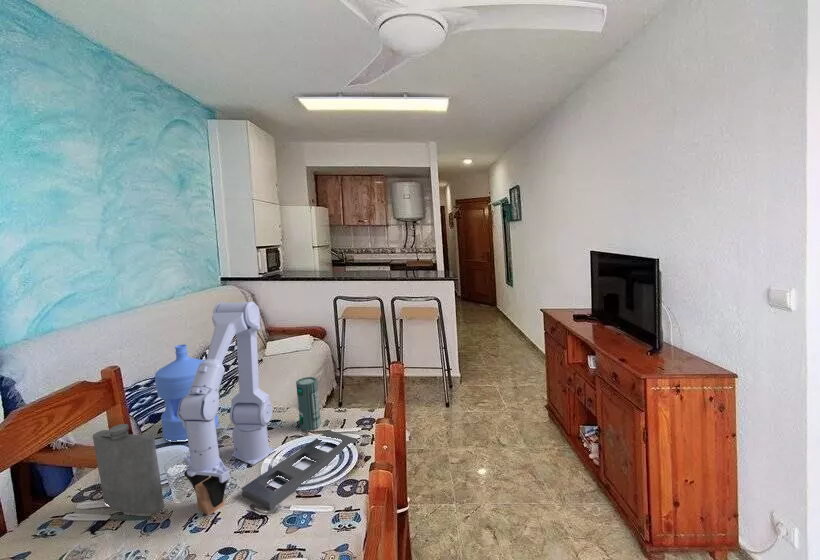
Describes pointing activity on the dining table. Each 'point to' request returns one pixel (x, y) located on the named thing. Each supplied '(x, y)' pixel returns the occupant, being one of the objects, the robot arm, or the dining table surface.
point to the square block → (205, 500)
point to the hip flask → (128, 470)
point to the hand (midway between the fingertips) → (210, 500)
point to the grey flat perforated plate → (293, 472)
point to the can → (308, 403)
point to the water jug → (176, 391)
